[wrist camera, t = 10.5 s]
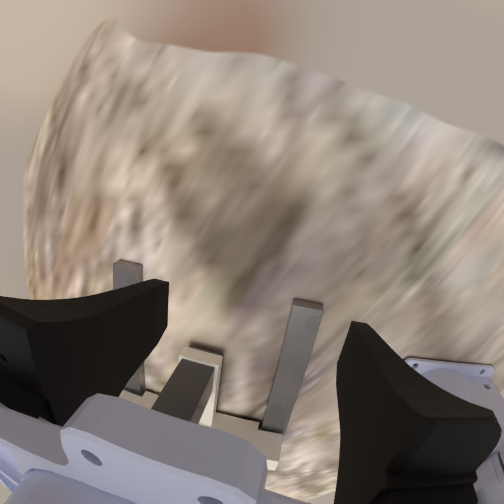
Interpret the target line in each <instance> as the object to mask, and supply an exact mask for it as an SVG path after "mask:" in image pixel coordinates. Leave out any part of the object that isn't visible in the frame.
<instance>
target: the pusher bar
mask: <svg viewBox="0 0 504 504" xmlns="http://www.w3.org/2000/svg"><path fill="white" fill-rule="evenodd" d="M222 359H223V356H221V353H217V352H213V351H210V350H206V349H202V348H198V347H194V346H191V345H190V346H189V347H186V346H184V348H183V349H182V351H181V352H180V354H179V364H178V366H177V367H176V369H175V370H174V372H173V374H172V375H171V377H170V378H169V380H168V382H167V383H166V385H165V387H164V388H163V390H162V391H161V393H160V395H157V394H154V393H151V392H148V391H145V393H144V394H143V396H142V397H141V396H138V395H136V394H133V393H130V392H128V391H125V390H123V391H122V392H121V394H120V396H119V398H122V399H125V400H127V401H130V402H132V403H135V404H138V405H141V406H143V407H146V408H149V409H152V410H155V411H157V412H160V413H163V414H166V415H169V416H173V417H176V418H179V419H182V420H185V421H189V422H192V423H195V424H199V425H203V426H206V427H210V428H214V429H217V430H221V431H225V432H228V433H230V434H232V435H235V436H237V437H240V438H242V439H245V440H248V441H249V442H250V443H251V444H252V445H253V446H255V447H256V448H257V449H258V450H259V451H260V452H261V453H262V454H264V455H265V456H266V461H267V468H268V470H273V471H275V469H276V467H277V465H278V462H279V457H280V450H281V444H282V437H283V434H278V433H272V432H267V431H262V430H258V426H259V422H255V421H250V420H246V419H242V418H237V417H233V416H229V415H225V414H221V413H217V412H216V406H217V398H218V390H219V382H220V374H221V367H222Z"/></svg>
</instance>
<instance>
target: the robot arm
mask: <svg viewBox="0 0 504 504" xmlns="http://www.w3.org/2000/svg"><path fill="white" fill-rule="evenodd" d="M168 295H169V282H166V281H162V280H158V279H151V280H147V281H143V282H139V283H136V284H132V285H129V286H126V287H122V288H119V289H115V290H111V291H107V292H104V293H100V294H95V295H91V296H85V297H79V298H71V299H57V300H29V299H18V298H10V297H3V296H0V482H1V483H2V484H3V485H4V486H5V487H6V488H8V489H9V490H10V491H11V492H12V494H11V495H10V497H9V498H8V499H7V501H6V502H5V503H4V504H310V503H307V502H303V501H300V500H296V499H293V498H290V497H287V496H284V495H281V494H278V493H275V492H272V491H269V490H266V489H264V487H265V482H266V477H267V472H268V468H267V461H266V456H265V455H264V454H262V453H261V452H260V451H259V450H258V449H257V448H256V447H255V446H253V445H252V444H251V443H250V442H249V441H248V440H245V439H242V438H240V437H237V436H235V435H232V434H230V433H228V432H225V431H221V430H217V429H214V428H210V427H206V426H203V425H199V424H195V423H192V422H189V421H185V420H182V419H179V418H176V417H173V416H169V415H166V414H163V413H160V412H157V411H155V410H152V409H149V408H146V407H143V406H141V405H138V404H135V403H132V402H130V401H127V400H125V399H122V398H119V396H120V394H121V392H122V391H123V389H124V387H125V386H126V384H127V383H128V381H129V380H130V379H131V377H132V376H133V375H134V373H135V372H136V371H137V370H138V368H139V367H140V366H141V365H142V363H143V362H144V361H145V359H146V358H147V357H148V356H149V354H150V353H151V352H152V350H153V349H154V348H155V347H156V345H157V344H158V342H159V340H160V339H161V337H162V335H163V333H164V331H165V329H166V328H167V322H168ZM416 363H417V364H416ZM414 364H416V365H415V366H413V365H414ZM481 370H482V371H481ZM480 371H481V372H480ZM494 371H495V369H494V367H493V366H492V365H479V364H466V363H455V362H445V361H436V360H427V359H418V358H407V359H406V360H405V361H404V360H403V359H402V358H401V357H400V356H399V355H398V354H396V353H395V352H394V351H393V350H392V349H391V347H390V346H389V345H388V344H387V343H386V342H385V341H384V340H383V339H382V338H381V337H380V336H379V335H378V334H377V333H376V332H375V331H374V330H373V329H372V328H371V327H370V326H369V325H368V324H367V323H362V322H356V321H352V322H351V325H350V328H349V331H348V334H347V337H346V340H345V343H344V346H343V348H342V351H341V354H340V357H339V360H338V362H337V376H336V388H337V399H338V409H339V420H340V437H341V439H340V456H339V467H338V477H337V485H336V492H335V499H334V504H504V399H503V397H502V396H501V394H500V392H499V391H498V389H497V387H496V386H495V384H494V382H493V381H492V379H491V377H492V375H493V373H494Z"/></svg>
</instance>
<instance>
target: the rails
mask: <svg viewBox="0 0 504 504" xmlns="http://www.w3.org/2000/svg"><path fill="white" fill-rule="evenodd" d="M139 282H142V265H140V264H136V263H132V262H128V261H124V260H118V261H117V262H115V263H113V287H114V290H115V289H119V288H122V287H126V286H129V285H132V284H136V283H139ZM322 313H323V304H319V303H314V302H309V301H304V300H299V299H294V300H293V305H292V309H291V313H290V318H289V322H288V326H287V330H286V335H285V339H284V343H283V347H282V351H281V355H280V359H279V363H278V367H277V371H276V375H275V378H274V382H273V386H272V390H271V394H270V397H269V401H268V405H267V408H266V412H265V416H264V419H263V423H262V426H261V430H262V431H267V432H272V433H278V434H283V435H284V432H285V429H286V426H287V424H288V421H289V418H290V415H291V412H292V409H293V407H294V404H295V401H296V398H297V395H298V392H299V389H300V386H301V383H302V380H303V376H304V373H305V370H306V367H307V364H308V361H309V357H310V354H311V351H312V347H313V344H314V341H315V337H316V334H317V330H318V327H319V324H320V320H321V316H322ZM123 390H125V391H128V392H130V393H133V394H136V395H138V396H141V397H142V396H143V394H144V393H145V383H144V366H143V363H142V365H141V366H140V367H139V368H138V370H137V371H136V372H135V373H134V375H133V376H132V377H131V379H130V380H129V381H128V383H127V384H126V386H125V387H124V389H123Z"/></svg>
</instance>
